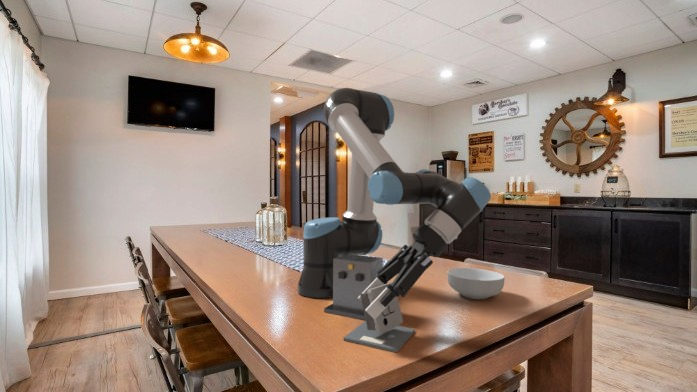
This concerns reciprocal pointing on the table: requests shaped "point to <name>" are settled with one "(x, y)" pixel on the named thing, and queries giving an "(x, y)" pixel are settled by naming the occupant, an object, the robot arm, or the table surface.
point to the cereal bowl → (475, 282)
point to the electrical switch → (387, 317)
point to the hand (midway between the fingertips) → (365, 308)
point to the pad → (380, 337)
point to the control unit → (352, 283)
